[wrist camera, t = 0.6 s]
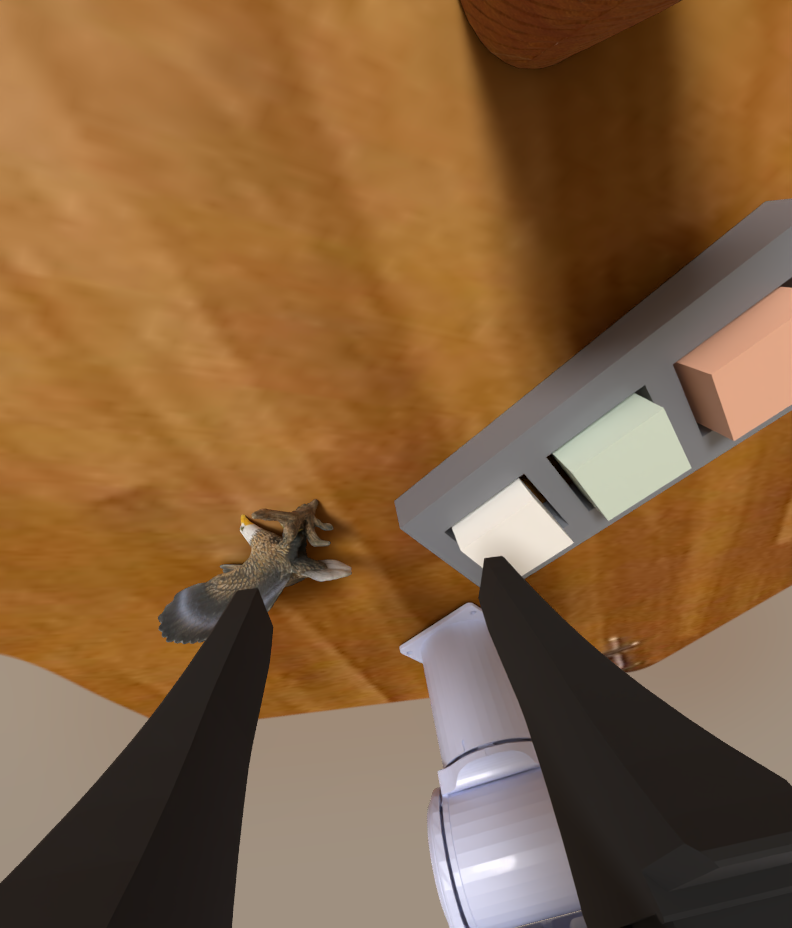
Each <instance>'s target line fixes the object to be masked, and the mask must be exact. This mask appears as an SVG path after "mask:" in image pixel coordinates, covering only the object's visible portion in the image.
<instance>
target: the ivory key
mask: <svg viewBox="0 0 792 928" xmlns="http://www.w3.org/2000/svg"><path fill="white" fill-rule="evenodd" d="M452 530H453V532H454V535H455V537H456V540H457V543H458V545H459V548H460V550H461V551H462V552H463V553H464V554H466V555H467V556H468V557H469V558H471V559H472V560H473V561H474V562H476V563H477V564H478V565H479V566H481V567H482V568H483V563H484V558H489V557H497V556H503V557H504V558H505V559H506V560H507V561H508V562H509V563H510V564H511V565H512V566H513V567H514V569H515V570H516V571H517V572H518V573H519V574H520V575H521V576H523V575H524V574H526V573H528V572H529V571H531V570H532V569H534V568H535V567H537V566H539V565H540V564H542V563H543V562H545V561H546V560H548V559H550V558H551V557H553V556H554V555H556V554H557V553H559V552H561V551H562V550H564V549H565V548H567V547H568V546H570V545H572V544H573V543H574V542H573V541H572V540H571V538H570V537H569V536H568V535H567V533H566V532H565V531H564V529H563V528H562V527H561V526H560V524H559V523H558V522H557V520H556V519H555V518H554V517H553V515H552V514H551V513H550V512H549V511H548V509H547V508H546V507H545V506H544V505H543V504H542V503H541V502H540V501H539V499H538V498H537V497H536V496H535V495H534V494H533V493H532V492H531V490H530V489H529V488H528V487H527V486H526V485H525V484H524V483H523V482H522V480H521V479H520V478H517V479H516V480H515V481H513V482H512V483H510V484H509V485H508V486H506V487H505V488H504V489H502V490H501V491H500V492H498V493H497V494H495V495H494V496H493V497H491V498H490V499H489V500H487V501H486V502H484V503H483V504H482V505H480V506H479V507H478V508H476V509H475V510H474V511H472V512H471V513H469V514H468V515H467V516H465V517H464V518H463V519H461V520H460V521H459V522H457V523H456V524H454V525H453V526H452Z"/></svg>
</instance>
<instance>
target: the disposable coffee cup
mask: <svg viewBox="0 0 792 928" xmlns="http://www.w3.org/2000/svg"><path fill="white" fill-rule="evenodd" d="M460 1H461V4H462V6H463V9H464V11H465V14H466V16H467V19H468V21H469V23H470V25H471V26H472V28H473V29H474V31H475V33H476V34H477V36H478V37H479V39H480V41H481V42H482V43H483V44H484V45H485V46H486V48H487V49H488V50H489V51H490V52H491V53H492V54H494V55H495V56H497V57H498V58H500V59H501V60H503V61H504V62H505V63H508V64H510V65H513V66H515V67H517V68H544V67H548V66H552V65H555V64H557V63H559V62H561V61H563V60H564V59H566V58H568V57H570V56H572V55H574V54H576V53H578V52H580V51H582V50H585V49H587V48H590V47H592V46H593V45H595V44H597V43H599V42H602V41H604V40H605V39H607V38H609V37H611V36H613V35H616V34H618V33H619V32H621V31H623V30H625V29H627V28H629V27H632V26H634V25H636V24H638V23H639V22H641V21H643V20H645V19H647V18H649V17H651V16H654V15H656V14H658V13H659V12H661V11H663V10H665V9H667V8H669V7H670V6H672V5H674V4H676V3H678V2H680V1H681V0H460Z"/></svg>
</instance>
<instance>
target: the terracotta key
mask: <svg viewBox="0 0 792 928" xmlns="http://www.w3.org/2000/svg"><path fill="white" fill-rule="evenodd" d="M673 367H674V369H675V371H676V374H677V376H678V379H679V381H680V384H681V386H682V389H683V391H684V393H685V396H686V398H687V401H688V403H689V406H690V408H691V411H692V413H693V415H694V418H695V420H696V422H697V423H699V424H701V425H703V426H705V427H707V428H709V429H711V430H713V431H715V432H717V433H719V434H721V435H723V436H725V437H727V438H729V439H731V440H733V441H735V440H737V439H738V438H740V437H741V436H743V435H745V434H746V433H748V432H749V431H751V430H752V429H754V428H756V427H757V426H759V425H760V424H762V423H763V422H765V421H767V420H768V419H770V418H771V417H773V416H774V415H776V414H778V413H779V412H781V411H782V410H784V409H785V408H787V407H789V406H790V405H792V288H790V287H778V288H776V289H775V290H774V291H772V292H771V293H770V294H768V295H767V296H765V297H764V298H763V299H761V300H760V301H759V302H757V303H756V304H755V305H753V306H752V307H750V308H749V309H748V310H746V311H745V312H744V313H742V314H741V315H740V316H738V317H737V318H735V319H734V320H733V321H731V322H730V323H729V324H727V325H726V326H725V327H723V328H722V329H720V330H719V331H718V332H716V333H715V334H714V335H712V336H711V337H710V338H708V339H707V340H705V341H704V342H703V343H701V344H700V345H699V346H697V347H696V348H695V349H693V350H692V351H690V352H689V353H688V354H686V355H685V356H684V357H682V358H681V359H680V360H678V361H677V362H675V363H674V364H673Z"/></svg>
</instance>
